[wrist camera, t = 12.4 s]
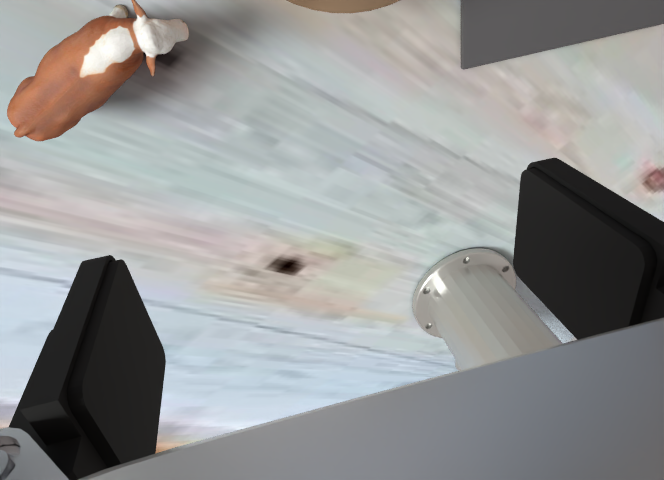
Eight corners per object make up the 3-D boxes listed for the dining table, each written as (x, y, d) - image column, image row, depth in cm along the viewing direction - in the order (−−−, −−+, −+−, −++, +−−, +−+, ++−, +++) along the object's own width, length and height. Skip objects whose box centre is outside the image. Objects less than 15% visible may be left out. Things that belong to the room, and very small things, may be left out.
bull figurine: (199, 28, 36) (198, 49, 29) (58, 126, 37) (26, 167, 31) (159, -30, 34) (148, -21, 27) (9, 77, 35) (-37, 111, 28)
